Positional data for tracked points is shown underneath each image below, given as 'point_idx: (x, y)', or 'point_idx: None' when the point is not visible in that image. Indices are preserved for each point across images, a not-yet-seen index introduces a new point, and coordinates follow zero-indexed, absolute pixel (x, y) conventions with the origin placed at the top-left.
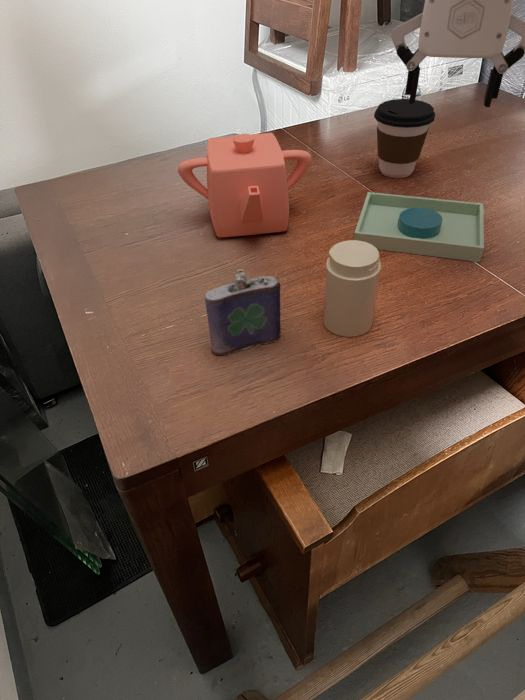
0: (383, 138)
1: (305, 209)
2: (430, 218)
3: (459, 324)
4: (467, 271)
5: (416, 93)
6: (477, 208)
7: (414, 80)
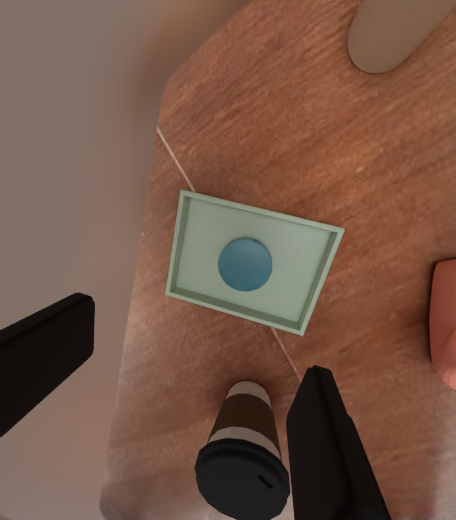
0: (274, 436)
1: (389, 322)
2: (232, 263)
3: (234, 47)
4: (204, 170)
5: (288, 426)
6: (172, 290)
7: (351, 450)
